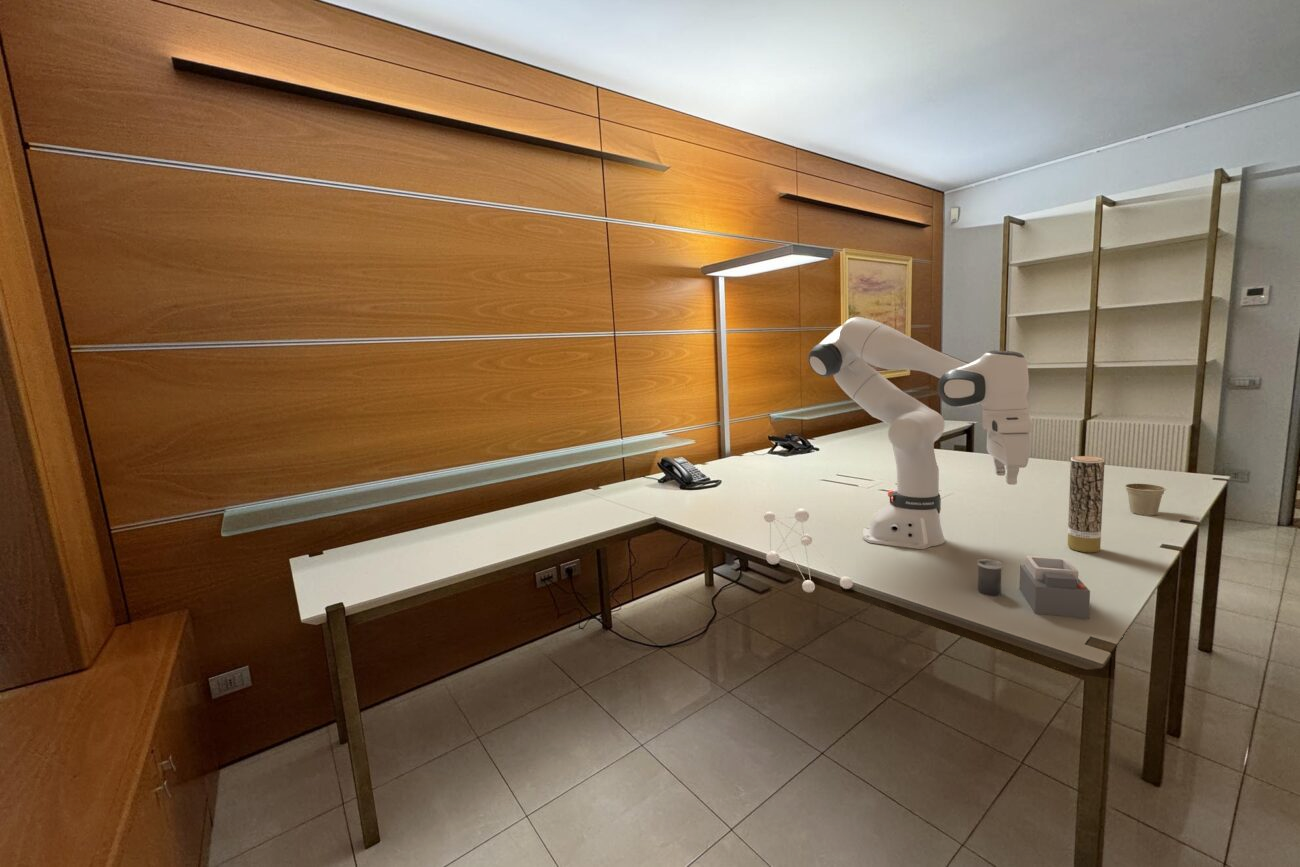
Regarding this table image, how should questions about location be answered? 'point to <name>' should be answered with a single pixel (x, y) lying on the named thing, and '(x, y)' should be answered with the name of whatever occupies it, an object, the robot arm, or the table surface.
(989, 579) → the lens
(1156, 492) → the flower pot
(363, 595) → the table surface
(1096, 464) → the paper tube
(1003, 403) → the robot arm
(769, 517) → the molecule model
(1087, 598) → the desk organizer caddy
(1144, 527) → the table surface
